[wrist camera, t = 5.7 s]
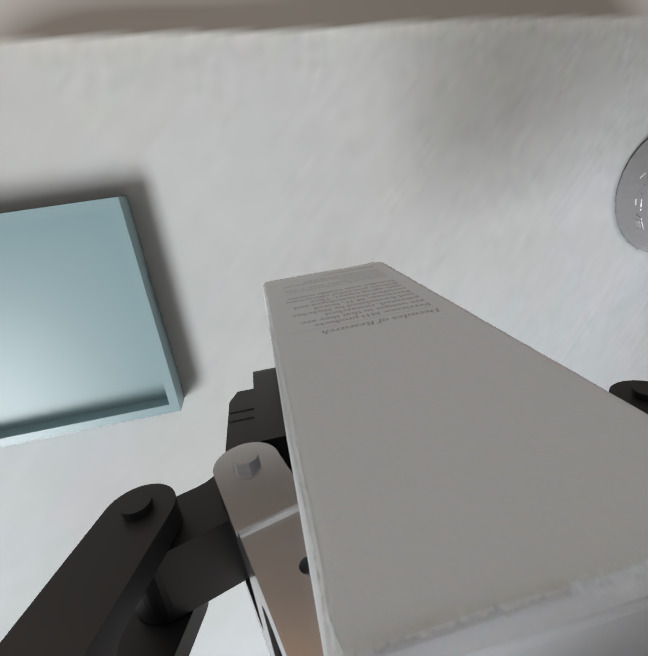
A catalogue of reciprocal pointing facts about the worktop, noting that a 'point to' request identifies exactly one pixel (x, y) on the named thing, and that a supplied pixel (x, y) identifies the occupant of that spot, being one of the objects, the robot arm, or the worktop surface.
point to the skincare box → (455, 478)
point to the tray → (78, 323)
